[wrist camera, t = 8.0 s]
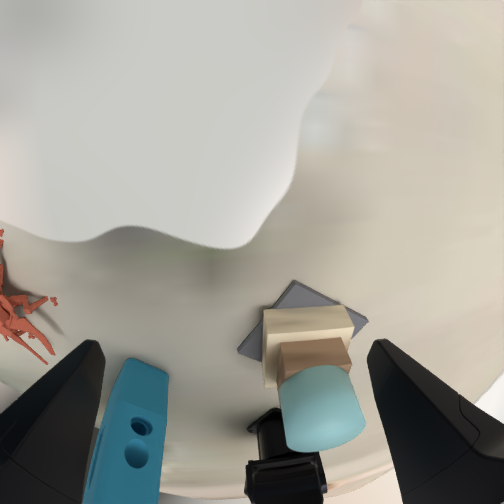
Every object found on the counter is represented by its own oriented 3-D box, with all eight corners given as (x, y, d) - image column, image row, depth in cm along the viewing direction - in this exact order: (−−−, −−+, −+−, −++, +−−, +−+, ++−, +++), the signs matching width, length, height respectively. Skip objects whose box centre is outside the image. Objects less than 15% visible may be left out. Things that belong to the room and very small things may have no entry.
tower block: (329, 375, 24) (338, 400, 21) (276, 380, 24) (280, 407, 21) (340, 337, 22) (352, 363, 19) (280, 342, 22) (285, 371, 19)
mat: (309, 373, 29) (310, 377, 29) (237, 348, 27) (237, 353, 26) (366, 317, 26) (368, 321, 25) (294, 279, 23) (295, 283, 23)
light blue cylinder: (346, 398, 21) (360, 440, 17) (282, 411, 22) (289, 457, 18) (351, 357, 19) (371, 406, 15) (275, 374, 19) (283, 427, 15)
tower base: (330, 358, 27) (337, 380, 25) (261, 364, 27) (264, 388, 24) (343, 304, 24) (354, 326, 21) (263, 309, 24) (267, 334, 21)
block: (133, 346, 26) (88, 539, 8) (177, 366, 27) (158, 556, 10) (108, 396, 30) (77, 533, 12) (143, 411, 32) (124, 547, 14)
